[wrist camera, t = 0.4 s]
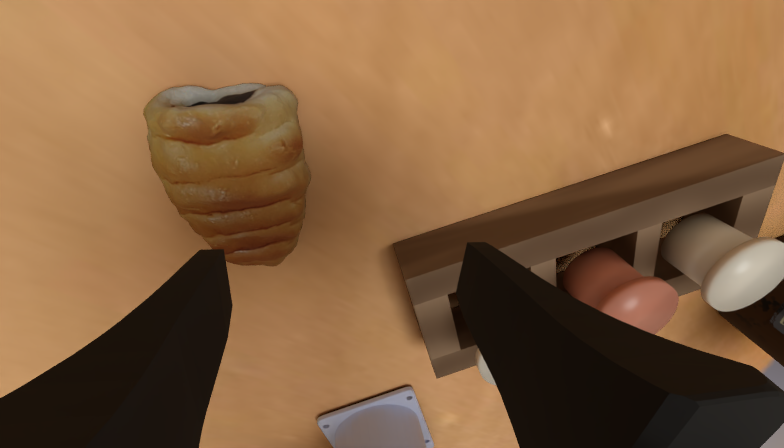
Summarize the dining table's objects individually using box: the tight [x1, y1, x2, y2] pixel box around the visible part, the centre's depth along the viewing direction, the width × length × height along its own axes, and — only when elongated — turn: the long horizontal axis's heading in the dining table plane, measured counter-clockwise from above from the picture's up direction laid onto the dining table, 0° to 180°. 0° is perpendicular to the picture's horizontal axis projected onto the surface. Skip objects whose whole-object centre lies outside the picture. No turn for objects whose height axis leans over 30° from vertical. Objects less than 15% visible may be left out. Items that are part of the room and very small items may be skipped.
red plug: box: [563, 247, 678, 334], centre depth 22 cm, size 5×5×4 cm
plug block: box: [393, 134, 784, 378], centre depth 25 cm, size 9×22×4 cm, turn 105°
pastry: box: [143, 83, 311, 266], centre depth 18 cm, size 9×7×4 cm
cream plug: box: [661, 213, 784, 312], centre depth 22 cm, size 5×5×4 cm
